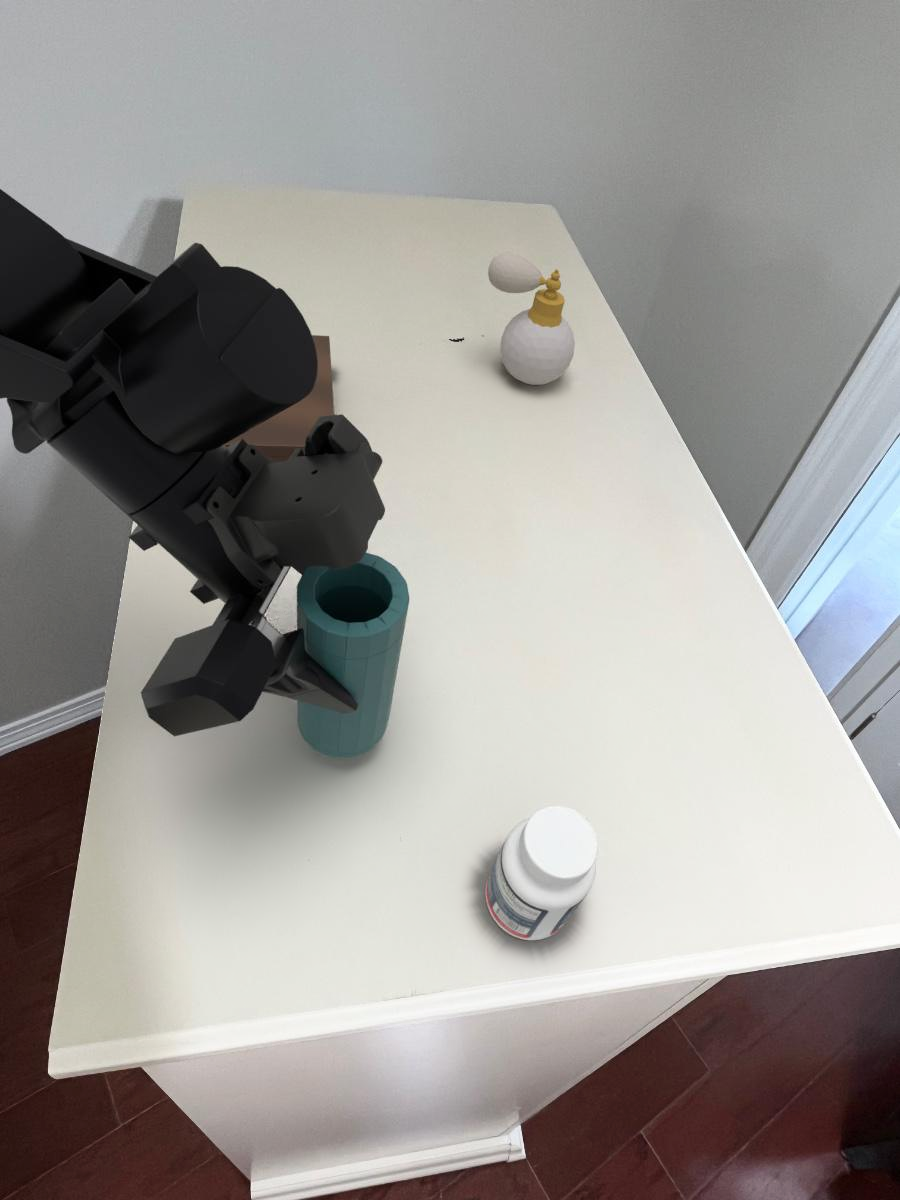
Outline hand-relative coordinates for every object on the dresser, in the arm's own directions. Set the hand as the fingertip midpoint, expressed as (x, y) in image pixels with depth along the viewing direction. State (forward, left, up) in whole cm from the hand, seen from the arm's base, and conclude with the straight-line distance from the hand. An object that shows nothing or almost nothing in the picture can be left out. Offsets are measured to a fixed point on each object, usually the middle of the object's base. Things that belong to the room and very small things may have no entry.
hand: (370, 667), depth 46 cm
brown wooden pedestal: (-17, +29, -9) cm, 35 cm away
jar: (-1, 0, -7) cm, 7 cm away
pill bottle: (+13, -7, -9) cm, 17 cm away
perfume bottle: (+3, +46, -9) cm, 47 cm away
